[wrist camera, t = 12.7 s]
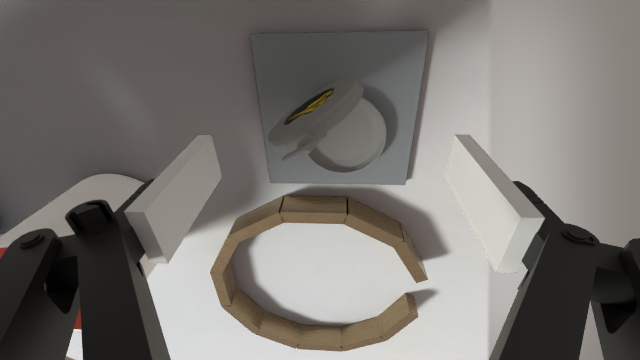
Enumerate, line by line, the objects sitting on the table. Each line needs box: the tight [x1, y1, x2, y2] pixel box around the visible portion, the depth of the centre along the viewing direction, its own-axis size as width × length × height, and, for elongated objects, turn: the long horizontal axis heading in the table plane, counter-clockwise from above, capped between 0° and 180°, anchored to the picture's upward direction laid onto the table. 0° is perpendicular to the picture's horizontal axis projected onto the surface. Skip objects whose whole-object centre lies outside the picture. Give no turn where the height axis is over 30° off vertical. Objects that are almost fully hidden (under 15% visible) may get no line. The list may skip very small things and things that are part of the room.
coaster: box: [250, 30, 429, 185], centre depth 23 cm, size 12×12×1 cm
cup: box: [0, 174, 157, 331], centre depth 26 cm, size 10×10×10 cm
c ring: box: [210, 196, 428, 351], centre depth 32 cm, size 22×22×2 cm
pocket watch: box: [268, 77, 387, 174], centre depth 18 cm, size 8×8×10 cm
